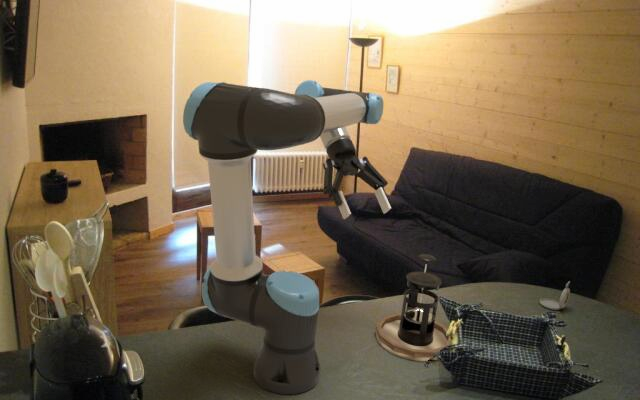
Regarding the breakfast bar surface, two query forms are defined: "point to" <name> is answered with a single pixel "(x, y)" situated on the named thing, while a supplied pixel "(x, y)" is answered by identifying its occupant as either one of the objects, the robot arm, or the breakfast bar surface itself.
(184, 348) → the breakfast bar surface
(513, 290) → the breakfast bar surface
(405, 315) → the french press
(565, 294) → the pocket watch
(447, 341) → the ring trivet
